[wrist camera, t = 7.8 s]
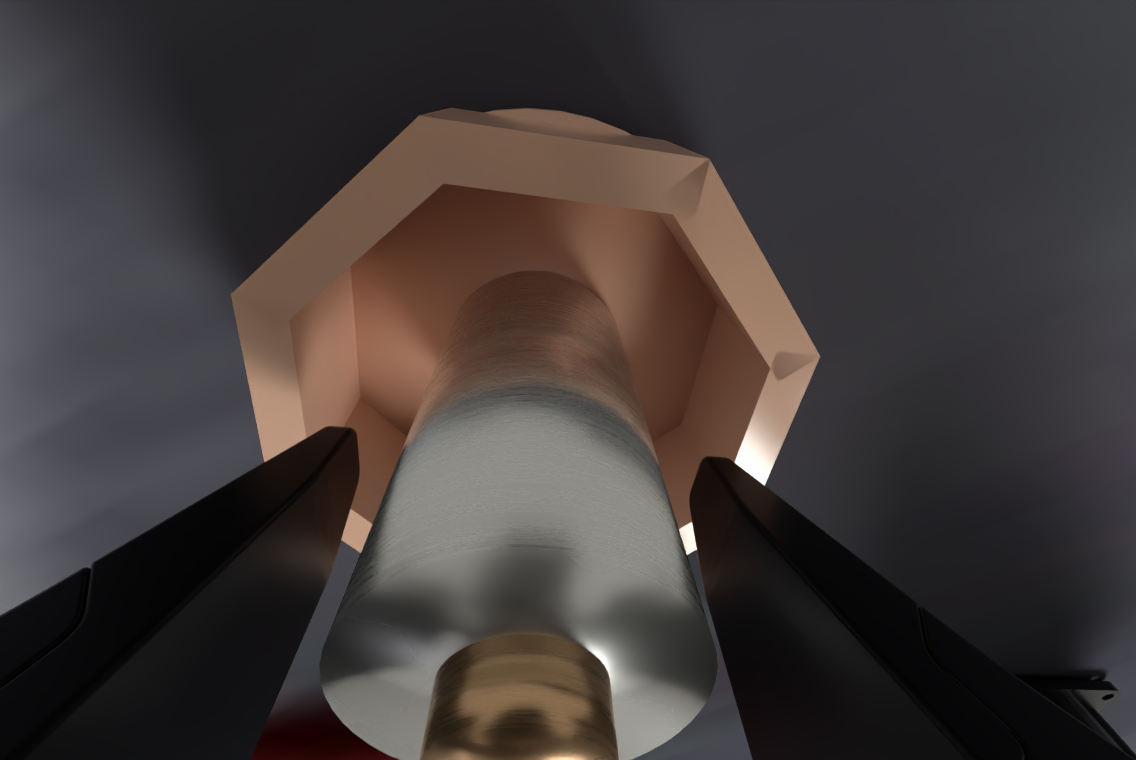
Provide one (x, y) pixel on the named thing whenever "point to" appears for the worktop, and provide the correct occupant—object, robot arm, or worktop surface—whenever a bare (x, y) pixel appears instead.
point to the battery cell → (523, 554)
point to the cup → (511, 244)
